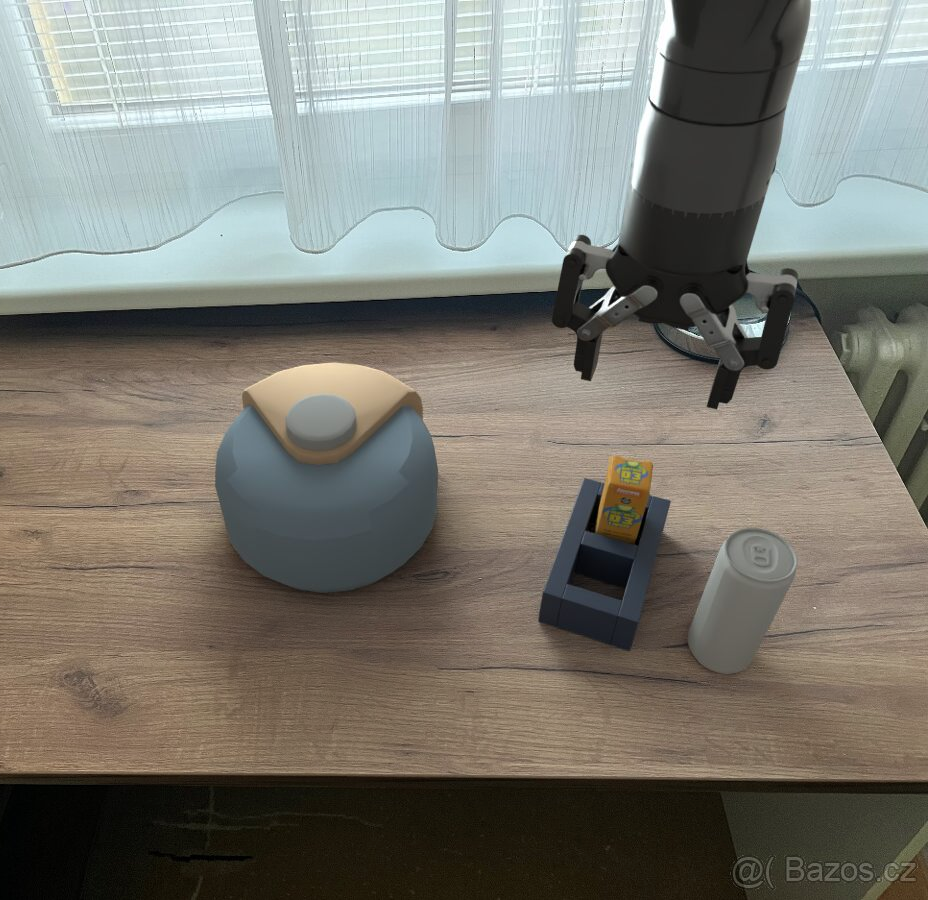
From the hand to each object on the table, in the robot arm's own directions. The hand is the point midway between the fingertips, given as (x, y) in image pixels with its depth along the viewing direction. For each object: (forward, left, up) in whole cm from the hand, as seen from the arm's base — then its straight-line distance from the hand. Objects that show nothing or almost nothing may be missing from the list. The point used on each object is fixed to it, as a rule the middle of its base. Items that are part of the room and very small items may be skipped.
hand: (649, 387), depth 62 cm
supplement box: (0, 0, -18) cm, 18 cm away
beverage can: (-10, +7, -18) cm, 22 cm away
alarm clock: (+24, +5, -18) cm, 31 cm away
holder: (0, +3, -18) cm, 18 cm away
